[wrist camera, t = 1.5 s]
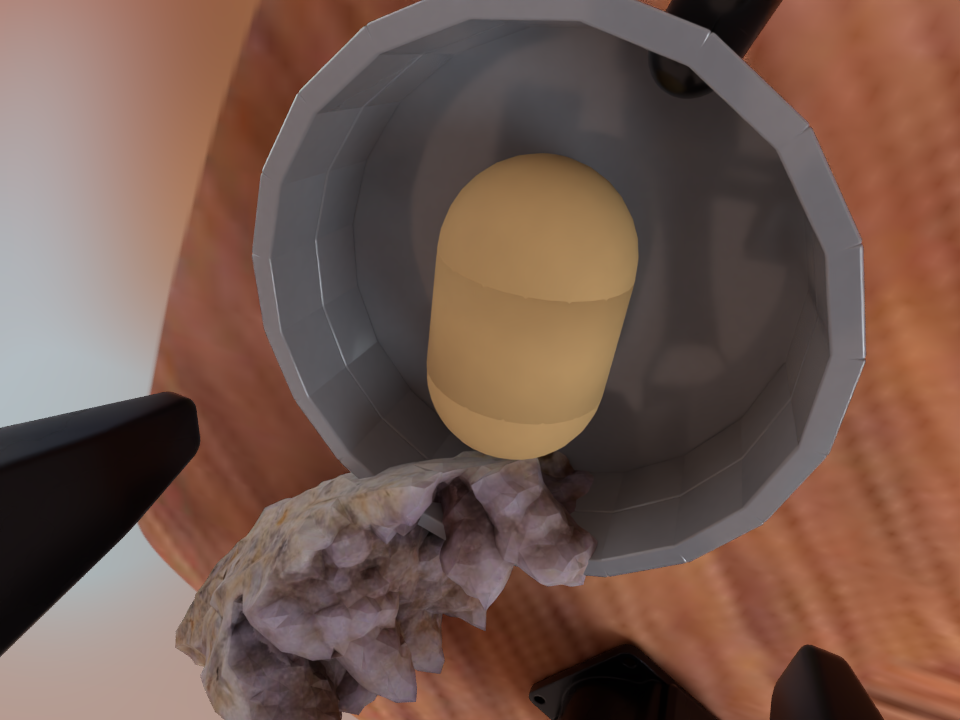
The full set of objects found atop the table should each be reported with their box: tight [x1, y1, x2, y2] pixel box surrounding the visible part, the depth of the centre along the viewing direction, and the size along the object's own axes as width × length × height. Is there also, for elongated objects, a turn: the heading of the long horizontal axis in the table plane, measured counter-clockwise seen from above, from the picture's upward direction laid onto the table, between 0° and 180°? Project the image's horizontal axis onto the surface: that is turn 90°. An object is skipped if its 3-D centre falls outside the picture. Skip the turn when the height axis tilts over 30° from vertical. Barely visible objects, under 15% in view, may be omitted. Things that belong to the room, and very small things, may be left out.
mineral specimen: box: [175, 451, 598, 720], centre depth 22 cm, size 20×10×10 cm
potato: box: [427, 153, 639, 460], centre depth 15 cm, size 8×5×5 cm, turn 172°
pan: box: [252, 0, 866, 577], centre depth 15 cm, size 14×14×4 cm
